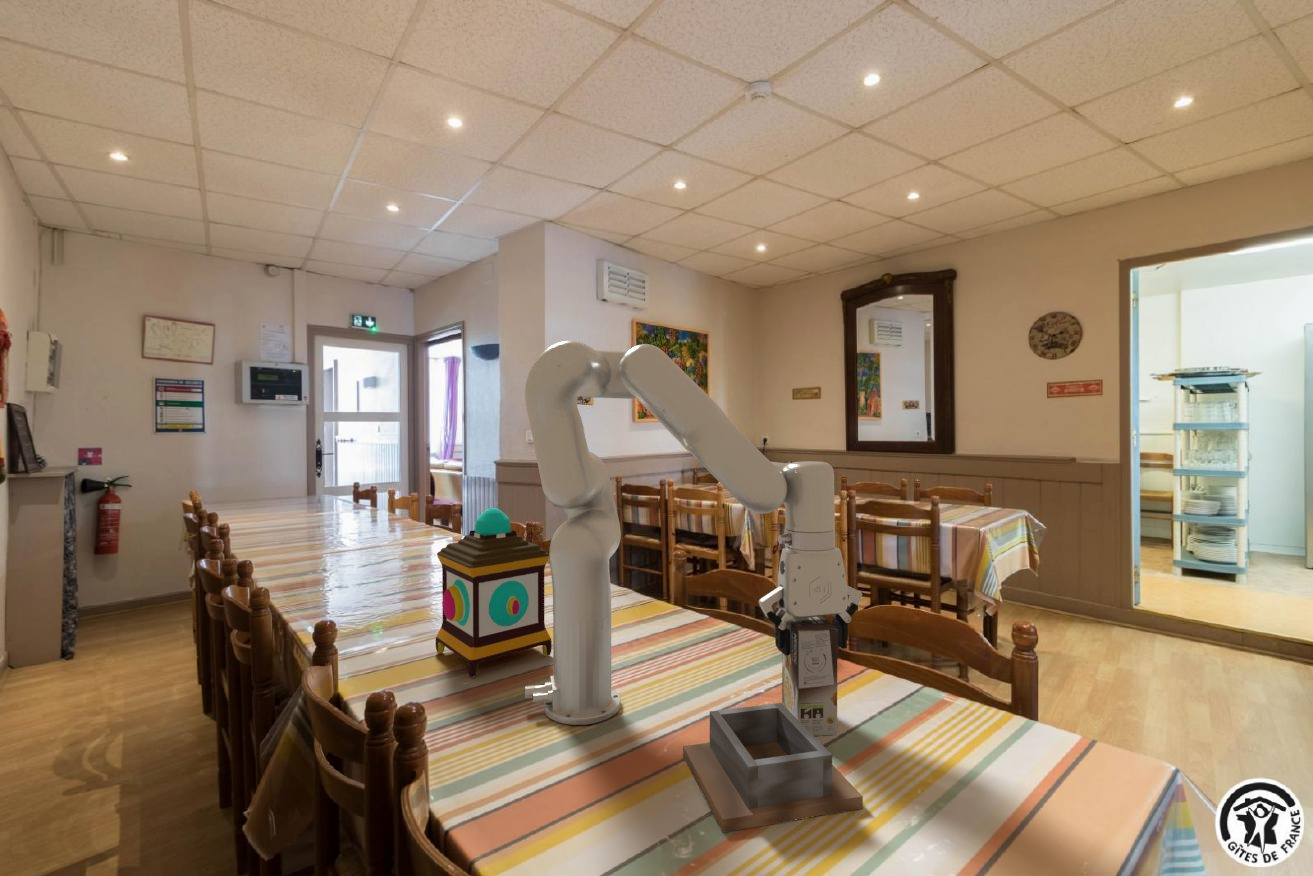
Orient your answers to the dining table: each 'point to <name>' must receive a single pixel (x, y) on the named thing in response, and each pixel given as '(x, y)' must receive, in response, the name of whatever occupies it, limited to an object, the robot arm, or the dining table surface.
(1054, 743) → the dining table surface
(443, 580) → the decorative lantern
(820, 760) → the post socket
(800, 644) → the coffee box
